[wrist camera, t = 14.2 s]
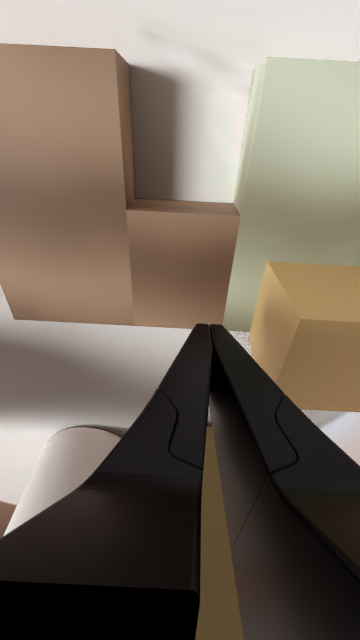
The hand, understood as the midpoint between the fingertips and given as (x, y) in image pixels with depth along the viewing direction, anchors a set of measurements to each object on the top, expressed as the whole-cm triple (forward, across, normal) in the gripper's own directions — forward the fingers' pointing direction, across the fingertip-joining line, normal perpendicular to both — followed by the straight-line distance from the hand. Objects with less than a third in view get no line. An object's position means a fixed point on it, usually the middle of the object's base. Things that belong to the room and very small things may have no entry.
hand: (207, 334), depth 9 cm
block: (+3, -4, +1) cm, 6 cm away
